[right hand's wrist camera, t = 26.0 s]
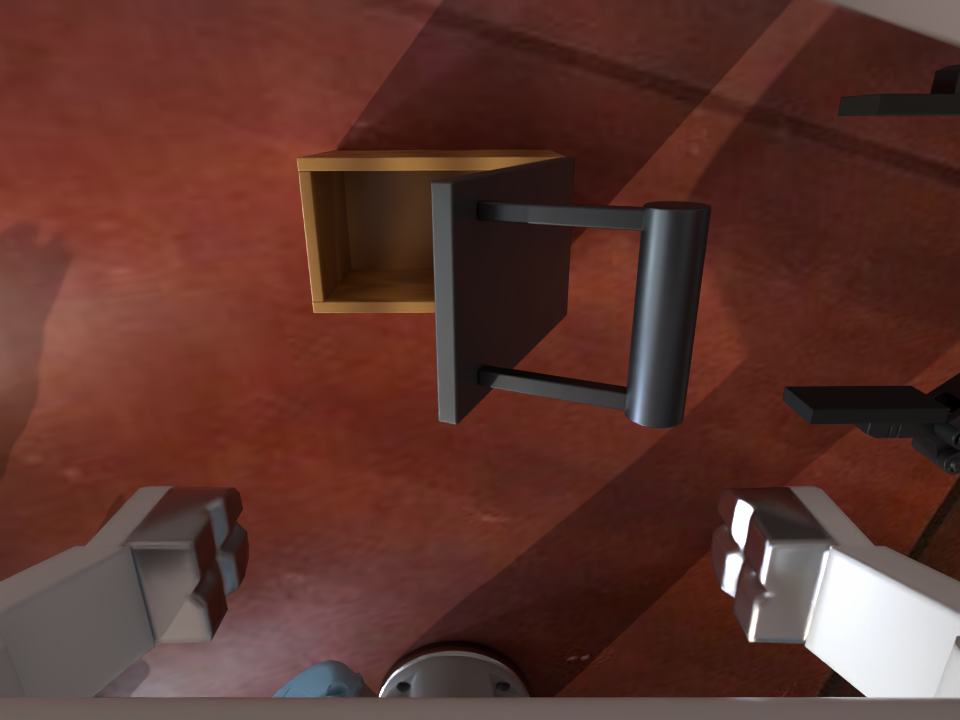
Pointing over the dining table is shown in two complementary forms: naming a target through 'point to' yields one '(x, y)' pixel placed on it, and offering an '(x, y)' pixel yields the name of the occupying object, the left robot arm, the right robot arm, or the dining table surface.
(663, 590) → the dining table surface
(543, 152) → the chest
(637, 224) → the lid
